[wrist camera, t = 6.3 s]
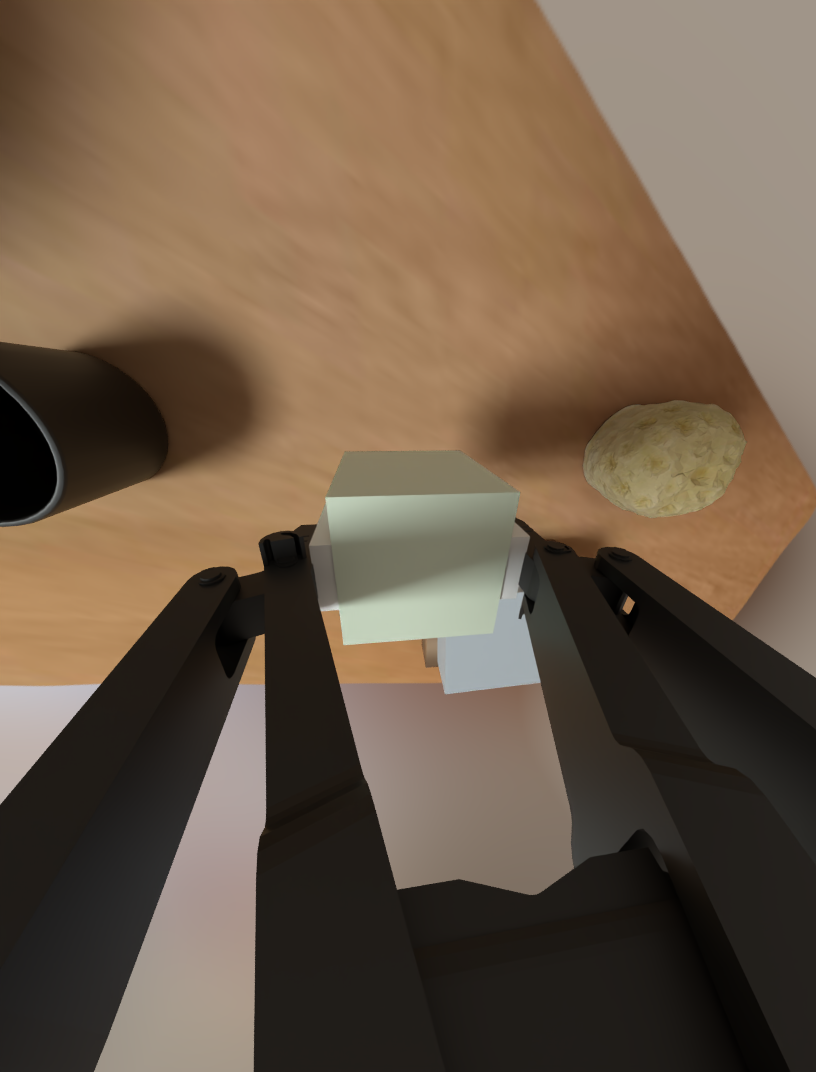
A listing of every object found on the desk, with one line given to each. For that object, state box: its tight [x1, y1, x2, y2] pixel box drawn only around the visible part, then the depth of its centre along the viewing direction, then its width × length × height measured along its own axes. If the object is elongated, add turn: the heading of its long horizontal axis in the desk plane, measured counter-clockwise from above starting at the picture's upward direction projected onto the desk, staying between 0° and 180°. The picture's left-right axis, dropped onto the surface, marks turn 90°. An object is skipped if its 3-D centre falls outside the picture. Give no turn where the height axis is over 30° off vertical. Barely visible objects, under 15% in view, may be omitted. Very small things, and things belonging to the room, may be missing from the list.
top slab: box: [437, 586, 540, 694], centre depth 29 cm, size 12×12×4 cm
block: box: [325, 450, 520, 645], centre depth 13 cm, size 6×6×7 cm
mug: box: [0, 342, 168, 527], centre depth 18 cm, size 9×12×9 cm
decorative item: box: [583, 400, 747, 518], centre depth 25 cm, size 10×10×10 cm
